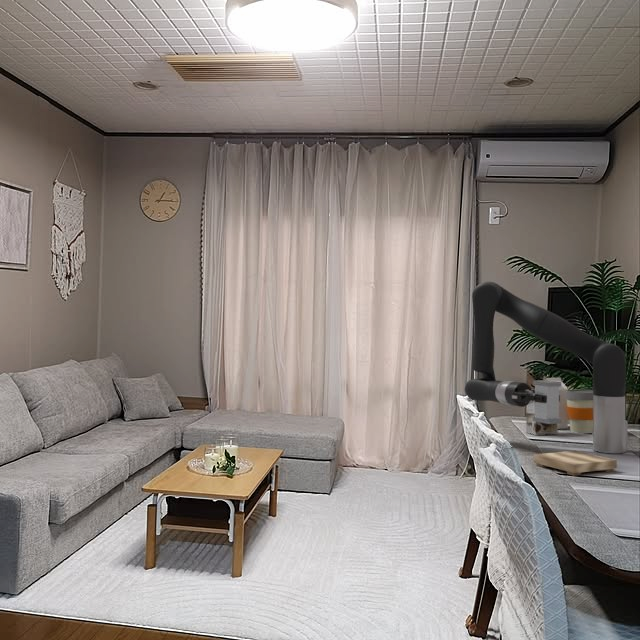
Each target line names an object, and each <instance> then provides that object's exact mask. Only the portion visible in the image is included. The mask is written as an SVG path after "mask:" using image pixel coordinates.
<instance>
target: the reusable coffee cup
mask: <svg viewBox="0 0 640 640" xmlns="http://www.w3.org/2000/svg"><path fill="white" fill-rule="evenodd" d="M566 398H567V406H566V407H567V415H568V420H569V421H568V422H569V428H570V432H571V431H573V432H579V433H578V434H580V433H593V389H575V388H574V389H568V390H566ZM573 432H572V433H573Z"/></svg>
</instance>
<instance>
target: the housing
mask: <svg viewBox="0 0 640 640" xmlns="http://www.w3.org/2000/svg"><path fill="white" fill-rule="evenodd" d="M532 386H534V389H535V394H538V395H545V396H546V403H540V402H535V417H533V421H535V422H541V423H546V424H558V423H561V419H559V386H561V382H556V381H547V379H545V380H532Z"/></svg>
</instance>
